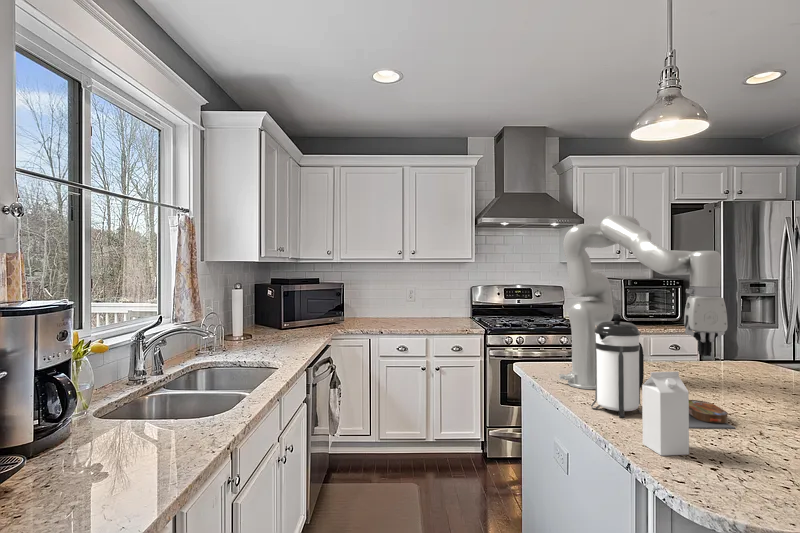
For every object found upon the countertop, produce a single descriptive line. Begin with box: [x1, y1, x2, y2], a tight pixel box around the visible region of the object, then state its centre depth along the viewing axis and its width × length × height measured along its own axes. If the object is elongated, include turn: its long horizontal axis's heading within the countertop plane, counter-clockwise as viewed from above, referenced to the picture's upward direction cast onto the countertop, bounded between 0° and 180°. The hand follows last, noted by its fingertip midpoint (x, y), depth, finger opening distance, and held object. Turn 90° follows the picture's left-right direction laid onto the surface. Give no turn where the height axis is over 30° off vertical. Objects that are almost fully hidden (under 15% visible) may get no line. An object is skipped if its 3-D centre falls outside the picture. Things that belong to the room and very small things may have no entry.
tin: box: [689, 399, 729, 423], centre depth 135 cm, size 15×3×8 cm
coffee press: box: [591, 313, 645, 419], centre depth 143 cm, size 17×16×30 cm
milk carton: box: [641, 371, 690, 457], centre depth 112 cm, size 7×7×19 cm
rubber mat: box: [689, 414, 736, 430], centre depth 135 cm, size 12×18×1 cm
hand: (704, 354), depth 135 cm, fingers closed
